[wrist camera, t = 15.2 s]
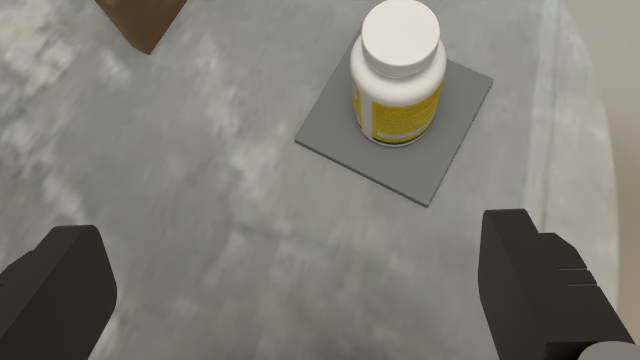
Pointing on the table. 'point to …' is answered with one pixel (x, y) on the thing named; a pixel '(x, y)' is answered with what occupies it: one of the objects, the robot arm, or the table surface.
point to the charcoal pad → (404, 161)
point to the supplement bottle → (397, 72)
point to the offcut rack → (142, 19)
